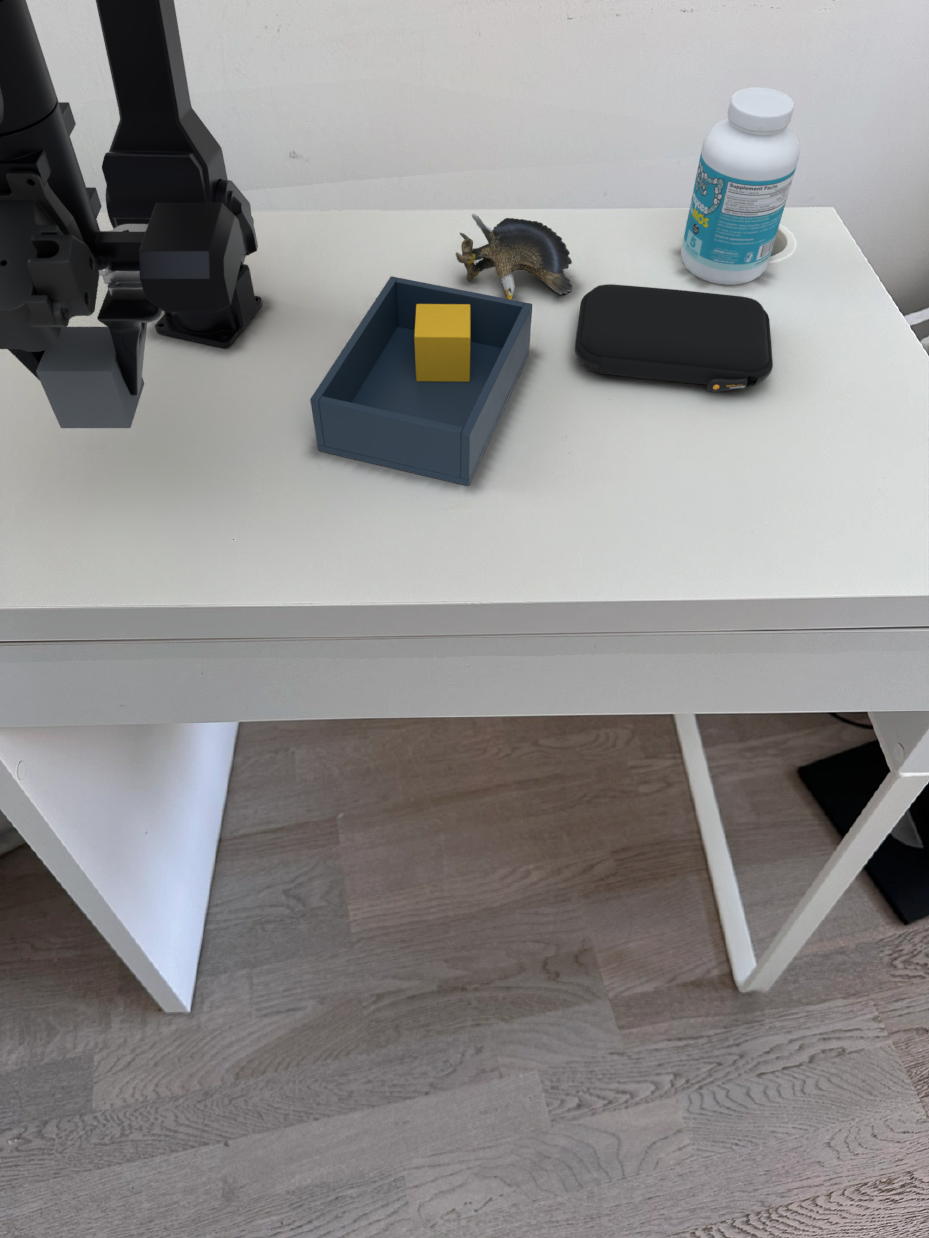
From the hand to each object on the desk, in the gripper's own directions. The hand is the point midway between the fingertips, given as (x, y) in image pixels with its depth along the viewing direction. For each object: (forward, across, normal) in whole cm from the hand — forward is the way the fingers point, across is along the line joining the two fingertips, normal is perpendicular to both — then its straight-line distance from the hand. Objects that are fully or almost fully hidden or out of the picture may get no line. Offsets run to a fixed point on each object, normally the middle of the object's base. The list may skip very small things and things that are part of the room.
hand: (98, 391), depth 54 cm
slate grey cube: (+1, 0, 0) cm, 1 cm away
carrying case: (+11, +37, +17) cm, 42 cm away
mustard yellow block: (+10, +20, +15) cm, 27 cm away
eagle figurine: (+11, +26, +26) cm, 38 cm away
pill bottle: (+11, +44, +30) cm, 54 cm away
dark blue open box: (+11, +18, +12) cm, 24 cm away
